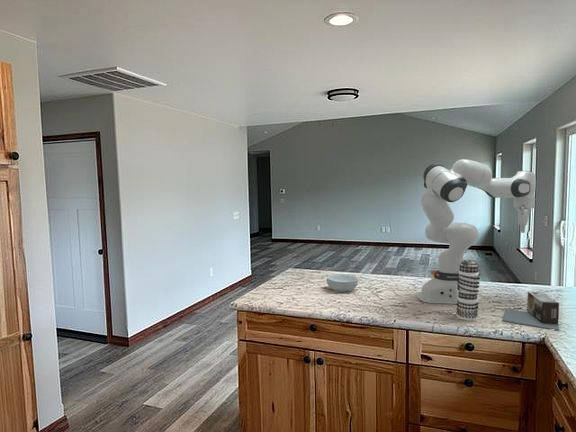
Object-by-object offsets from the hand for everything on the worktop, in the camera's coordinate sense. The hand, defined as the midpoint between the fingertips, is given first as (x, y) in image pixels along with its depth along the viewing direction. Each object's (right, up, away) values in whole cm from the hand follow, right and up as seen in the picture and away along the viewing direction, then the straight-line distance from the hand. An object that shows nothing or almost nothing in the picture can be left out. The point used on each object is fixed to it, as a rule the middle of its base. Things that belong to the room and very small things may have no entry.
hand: (522, 232), depth 195 cm
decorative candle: (-37, -36, -21) cm, 56 cm away
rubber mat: (-11, -36, -24) cm, 45 cm away
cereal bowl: (-86, -33, +22) cm, 94 cm away
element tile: (-21, -32, +36) cm, 52 cm away
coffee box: (-4, -30, -16) cm, 34 cm away
